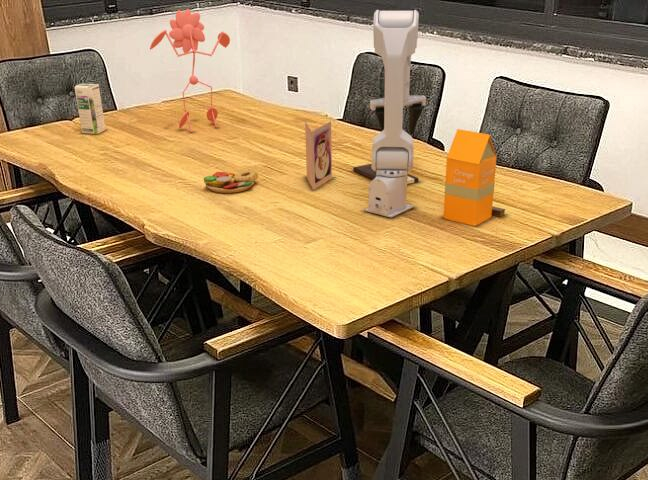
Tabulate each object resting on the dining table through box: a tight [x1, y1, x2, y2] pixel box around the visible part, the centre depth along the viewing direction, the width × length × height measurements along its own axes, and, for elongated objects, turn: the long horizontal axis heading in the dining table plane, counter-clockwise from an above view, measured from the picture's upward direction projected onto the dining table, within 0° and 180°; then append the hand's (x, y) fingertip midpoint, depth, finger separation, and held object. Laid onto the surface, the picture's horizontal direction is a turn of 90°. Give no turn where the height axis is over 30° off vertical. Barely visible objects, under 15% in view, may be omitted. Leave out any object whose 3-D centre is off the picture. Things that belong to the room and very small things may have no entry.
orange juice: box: [442, 128, 498, 227], centre depth 193 cm, size 8×9×20 cm
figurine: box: [149, 8, 234, 133], centre depth 266 cm, size 15×26×35 cm, turn 125°
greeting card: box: [304, 120, 333, 191], centre depth 218 cm, size 11×7×15 cm, turn 155°
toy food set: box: [203, 169, 259, 194], centre depth 220 cm, size 13×13×3 cm
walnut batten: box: [491, 205, 506, 218], centre depth 202 cm, size 2×12×2 cm, turn 50°
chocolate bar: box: [353, 163, 419, 185], centre depth 226 cm, size 9×1×18 cm
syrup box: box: [74, 83, 107, 135], centre depth 267 cm, size 6×6×14 cm
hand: (397, 133), depth 222 cm, fingers open, 7 cm apart
